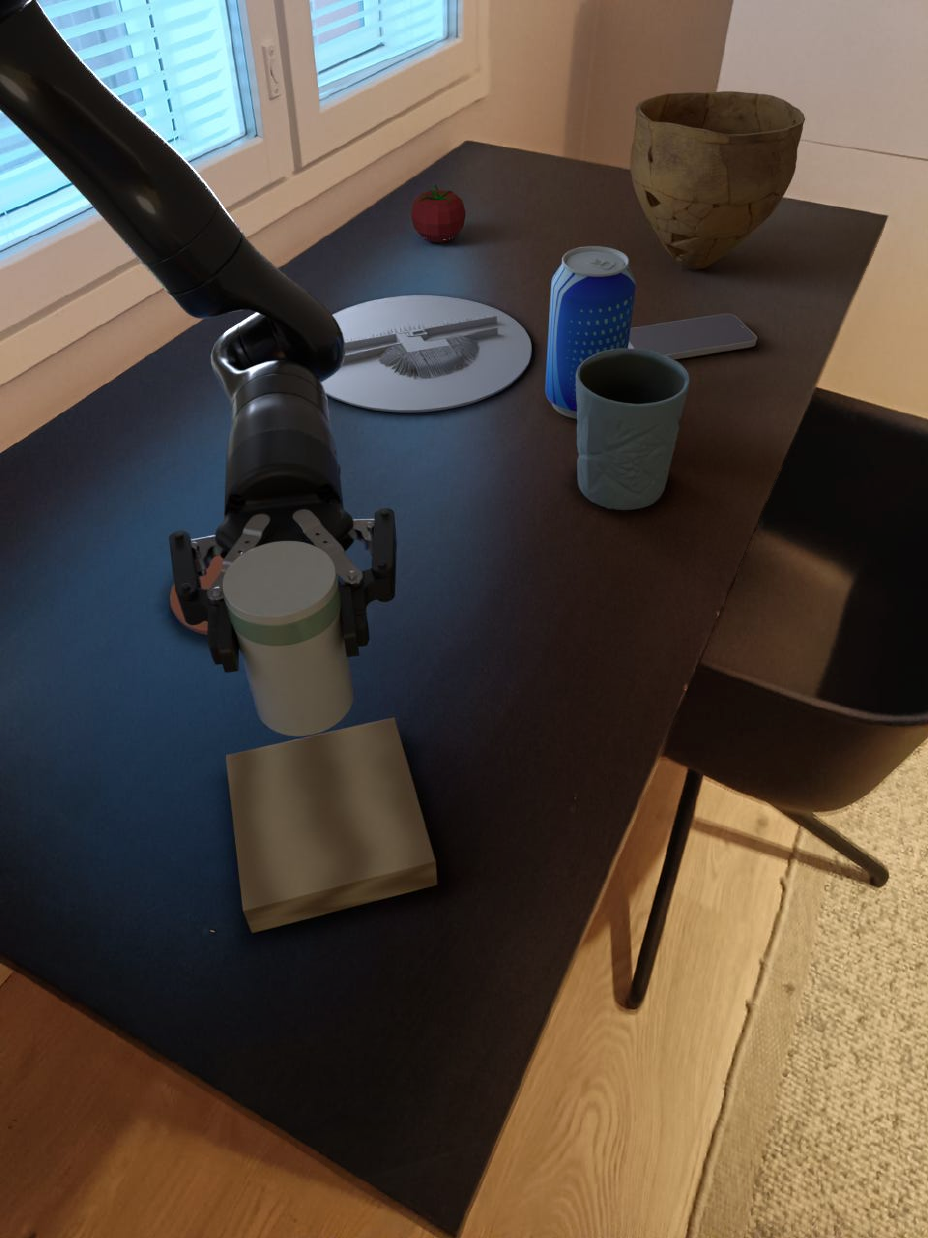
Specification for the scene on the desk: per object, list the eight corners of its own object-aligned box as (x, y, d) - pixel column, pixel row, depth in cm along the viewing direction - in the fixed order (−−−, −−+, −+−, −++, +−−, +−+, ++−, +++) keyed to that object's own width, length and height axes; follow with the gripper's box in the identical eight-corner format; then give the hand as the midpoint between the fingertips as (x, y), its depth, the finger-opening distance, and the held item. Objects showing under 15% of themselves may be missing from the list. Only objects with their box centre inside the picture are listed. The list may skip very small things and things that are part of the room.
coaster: (174, 648, 73) (172, 644, 73) (168, 563, 81) (167, 559, 81) (307, 621, 75) (306, 617, 75) (289, 540, 83) (289, 536, 83)
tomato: (403, 234, 132) (400, 180, 127) (450, 224, 135) (449, 170, 130) (426, 254, 127) (424, 198, 122) (475, 243, 130) (475, 188, 124)
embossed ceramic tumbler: (668, 520, 84) (689, 409, 76) (561, 509, 86) (570, 399, 77) (671, 458, 91) (690, 350, 83) (572, 449, 93) (581, 342, 84)
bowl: (587, 266, 124) (601, 105, 110) (679, 225, 133) (702, 73, 119) (710, 317, 113) (743, 145, 99) (800, 269, 122) (842, 106, 108)
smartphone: (618, 329, 109) (732, 312, 111) (618, 336, 110) (730, 319, 112) (642, 358, 104) (760, 340, 106) (641, 366, 105) (759, 347, 107)
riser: (251, 933, 56) (242, 911, 54) (234, 780, 64) (225, 755, 62) (437, 885, 58) (435, 861, 56) (397, 742, 66) (394, 717, 64)
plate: (487, 284, 120) (487, 275, 119) (567, 387, 101) (568, 377, 101) (280, 316, 115) (279, 307, 114) (324, 431, 96) (322, 421, 95)
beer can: (558, 428, 96) (568, 282, 84) (535, 388, 101) (542, 246, 90) (632, 417, 97) (652, 272, 86) (605, 378, 103) (620, 238, 91)
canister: (264, 749, 52) (231, 629, 45) (246, 675, 56) (213, 554, 49) (366, 721, 53) (349, 600, 46) (341, 650, 57) (322, 529, 50)
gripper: (160, 437, 57) (136, 622, 45) (385, 414, 58) (419, 588, 47) (187, 529, 62) (172, 716, 50) (393, 506, 64) (425, 682, 52)
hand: (290, 653), depth 49 cm, fingers closed on canister, 6 cm apart
